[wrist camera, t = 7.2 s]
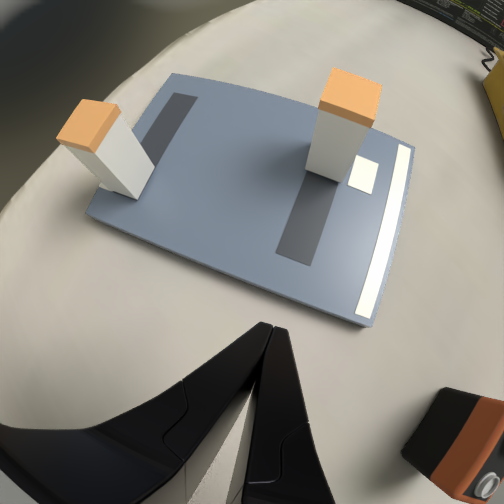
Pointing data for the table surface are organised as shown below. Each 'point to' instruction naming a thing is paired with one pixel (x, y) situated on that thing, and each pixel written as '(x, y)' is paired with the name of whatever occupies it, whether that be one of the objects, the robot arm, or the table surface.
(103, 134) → the tab
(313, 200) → the switch bank
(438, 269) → the table surface
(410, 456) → the battery
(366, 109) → the tab
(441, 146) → the table surface
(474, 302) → the table surface
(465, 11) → the router box
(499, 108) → the geiger counter
